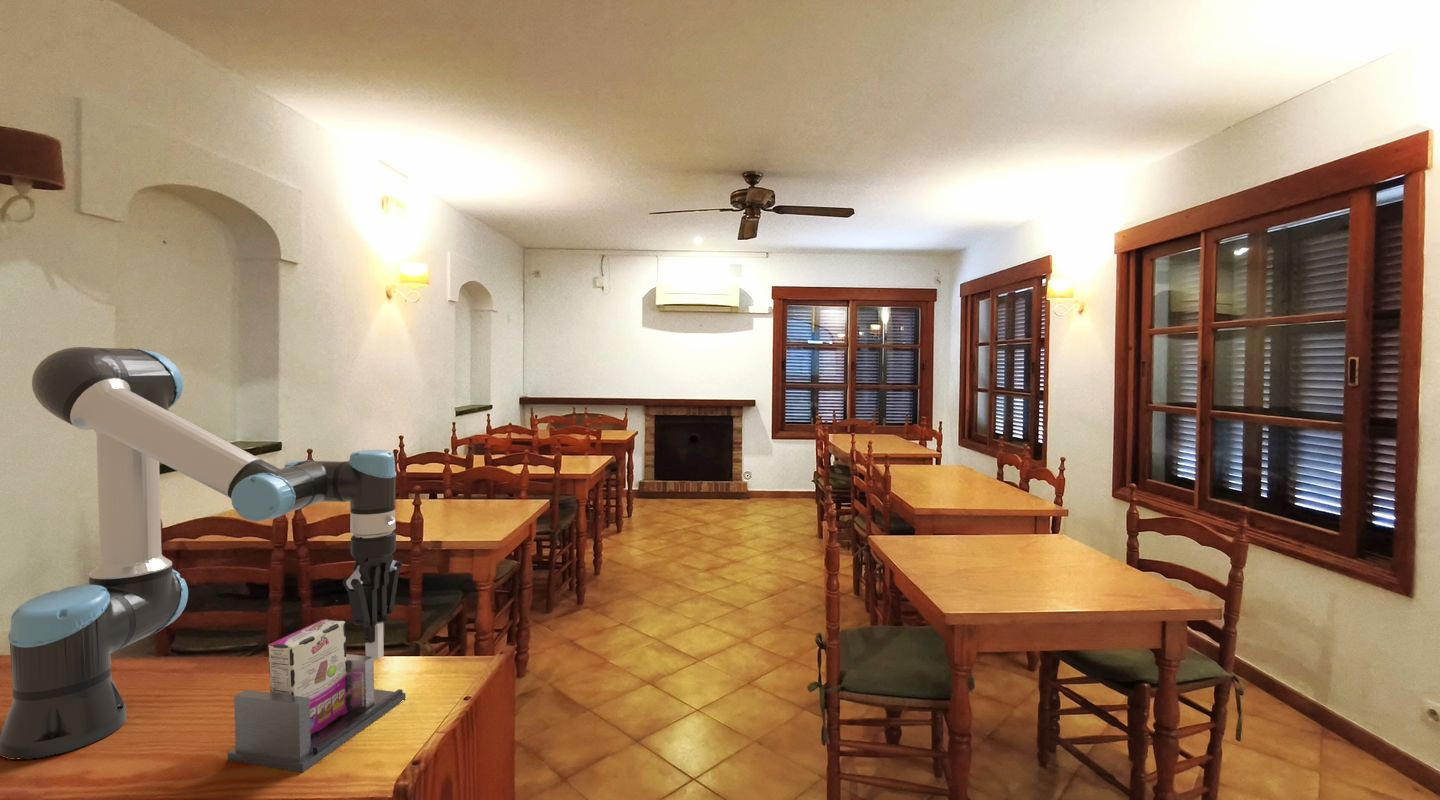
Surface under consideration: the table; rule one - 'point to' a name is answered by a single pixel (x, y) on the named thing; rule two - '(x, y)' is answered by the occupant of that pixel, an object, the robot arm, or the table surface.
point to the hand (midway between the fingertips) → (374, 656)
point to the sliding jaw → (360, 682)
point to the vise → (295, 728)
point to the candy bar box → (313, 670)
